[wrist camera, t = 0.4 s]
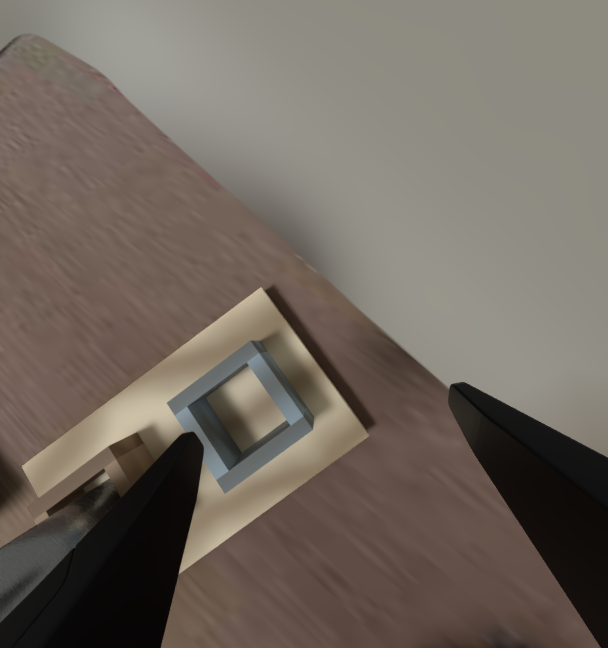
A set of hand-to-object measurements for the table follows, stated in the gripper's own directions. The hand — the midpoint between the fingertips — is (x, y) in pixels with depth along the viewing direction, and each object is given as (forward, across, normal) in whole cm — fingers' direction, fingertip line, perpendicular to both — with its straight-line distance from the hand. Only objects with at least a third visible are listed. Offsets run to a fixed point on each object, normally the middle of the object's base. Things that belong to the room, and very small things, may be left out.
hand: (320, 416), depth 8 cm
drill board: (+9, +13, +12) cm, 20 cm away
